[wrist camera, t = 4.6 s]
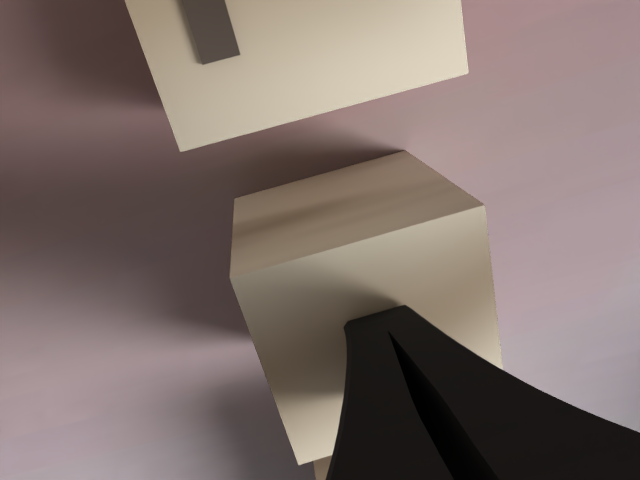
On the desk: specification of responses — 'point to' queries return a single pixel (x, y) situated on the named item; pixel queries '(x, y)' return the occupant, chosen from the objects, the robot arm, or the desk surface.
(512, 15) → the desk surface
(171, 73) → the birch block marked 7
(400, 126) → the desk surface
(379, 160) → the plain birch block
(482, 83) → the desk surface
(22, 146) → the desk surface
